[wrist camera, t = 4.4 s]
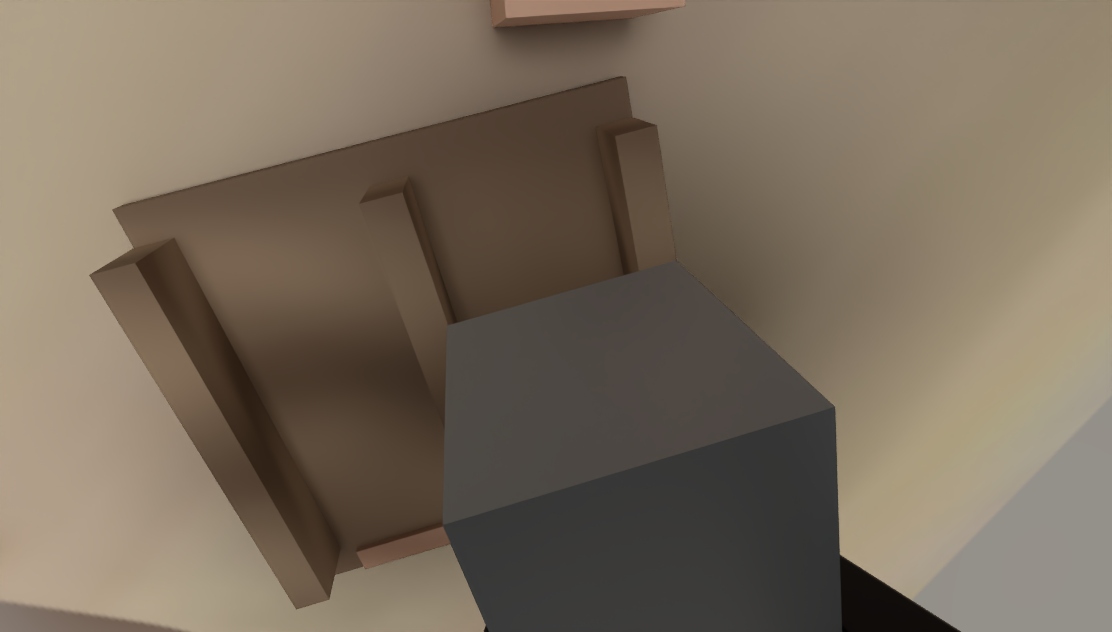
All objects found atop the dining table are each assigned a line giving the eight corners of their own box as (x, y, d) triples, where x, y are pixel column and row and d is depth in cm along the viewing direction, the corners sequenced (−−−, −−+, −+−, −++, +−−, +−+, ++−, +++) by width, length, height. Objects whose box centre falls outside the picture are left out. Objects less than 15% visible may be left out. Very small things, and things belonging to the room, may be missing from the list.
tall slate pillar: (447, 326, 9) (442, 525, 5) (676, 260, 9) (834, 406, 5) (579, 694, 12) (630, 957, 9) (735, 644, 13) (849, 882, 9)
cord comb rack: (122, 204, 15) (62, 232, 12) (620, 76, 15) (650, 79, 13) (325, 566, 20) (309, 630, 18) (684, 460, 21) (712, 509, 19)
